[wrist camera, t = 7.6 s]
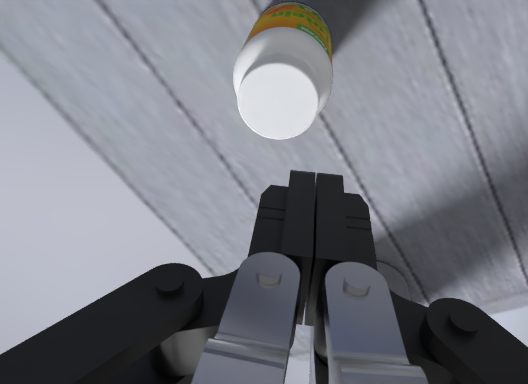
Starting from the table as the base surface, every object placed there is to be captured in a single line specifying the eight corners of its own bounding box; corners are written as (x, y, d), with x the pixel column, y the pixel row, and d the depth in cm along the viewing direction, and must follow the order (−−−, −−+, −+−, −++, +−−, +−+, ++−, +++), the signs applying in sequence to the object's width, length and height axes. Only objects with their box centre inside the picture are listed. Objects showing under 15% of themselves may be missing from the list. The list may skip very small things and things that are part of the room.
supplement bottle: (343, 15, 26) (353, 67, 19) (315, 92, 30) (312, 164, 22) (262, -11, 26) (236, 30, 18) (242, 70, 29) (212, 134, 21)
